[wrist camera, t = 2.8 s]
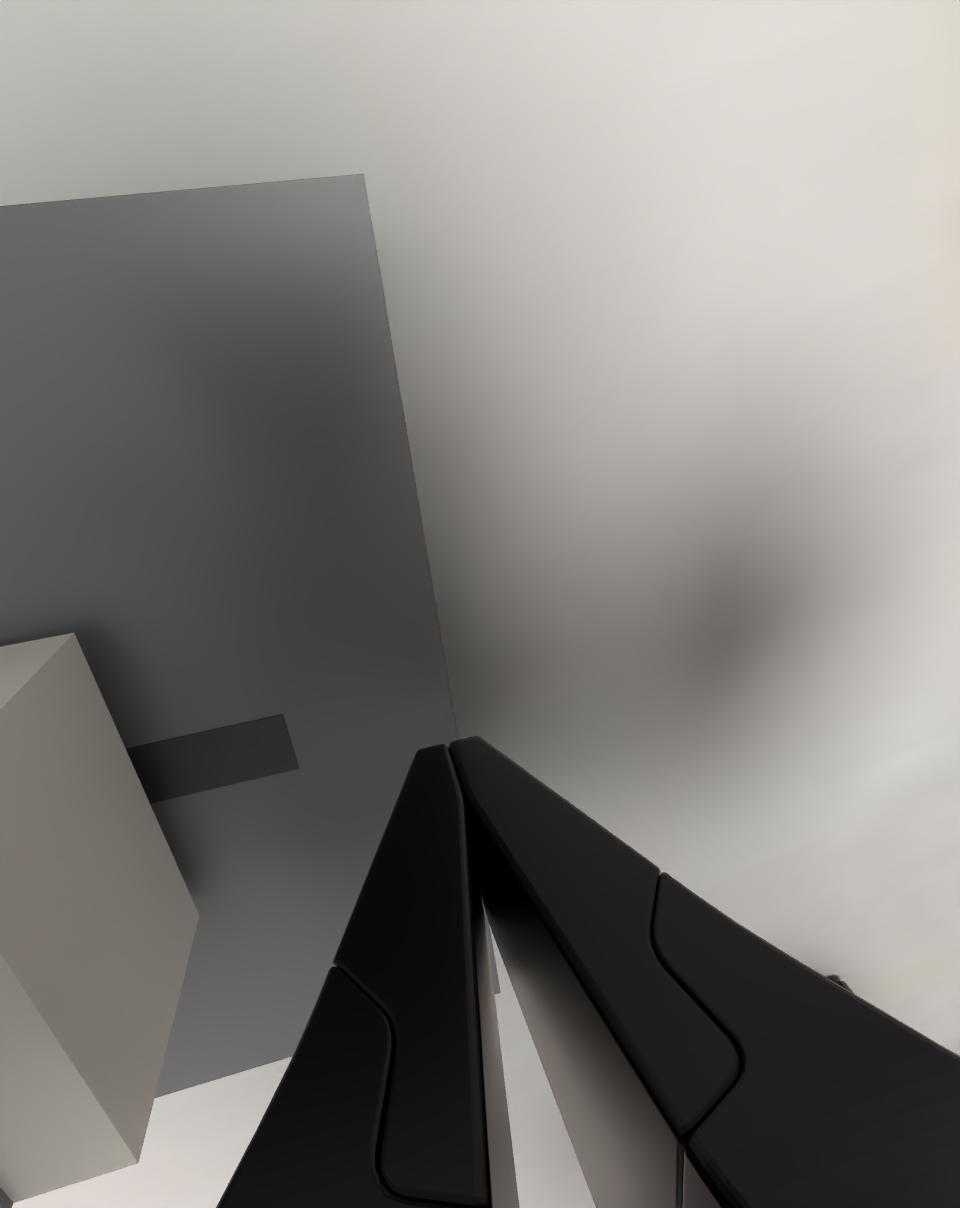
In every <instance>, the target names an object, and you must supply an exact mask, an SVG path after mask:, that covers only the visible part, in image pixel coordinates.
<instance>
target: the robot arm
mask: <svg viewBox="0 0 960 1208" xmlns="http://www.w3.org/2000/svg"><path fill="white" fill-rule="evenodd" d="M482 901H483V903H482ZM483 905H484V909H485V912H486V915H487V918H488V921H489V924H490V927H491V930H492V933H493V935H494V938H495V941H496V943H497V946H498V949H499V951H500V954H501V957H502V959H503V962H504V965H505V967H506V970H507V972H508V975H509V978H510V980H511V983H512V986H513V988H514V991H515V994H516V996H517V999H518V1002H519V1004H520V1007H521V1010H522V1012H523V1015H524V1017H525V1020H526V1023H527V1025H528V1028H529V1031H530V1033H531V1036H532V1039H533V1041H534V1044H535V1047H536V1049H537V1052H538V1055H539V1057H540V1060H541V1063H542V1065H543V1068H544V1070H545V1073H546V1076H547V1078H548V1081H549V1084H550V1086H551V1089H552V1092H553V1094H554V1097H555V1100H556V1102H557V1105H558V1108H559V1110H560V1113H561V1115H562V1118H563V1121H564V1123H565V1126H566V1129H567V1131H568V1134H569V1137H570V1139H571V1142H572V1145H573V1147H574V1150H575V1153H576V1155H577V1158H578V1160H579V1163H580V1166H581V1168H582V1171H583V1174H584V1176H585V1179H586V1182H587V1184H588V1187H589V1190H590V1192H591V1195H592V1198H593V1200H594V1203H595V1206H596V1208H960V1056H959V1055H957V1054H955V1053H954V1052H952V1051H950V1050H948V1049H946V1048H945V1047H943V1046H941V1045H939V1044H938V1043H936V1042H934V1041H933V1040H931V1039H929V1038H927V1037H926V1036H924V1035H922V1034H921V1033H919V1032H917V1031H916V1030H914V1029H912V1028H911V1027H909V1026H907V1025H906V1024H904V1023H902V1022H901V1021H899V1020H897V1019H895V1018H894V1017H892V1016H890V1015H889V1014H887V1013H885V1012H884V1011H882V1010H880V1009H879V1008H877V1007H875V1006H874V1005H872V1004H870V1003H868V1002H867V1001H865V1000H863V999H862V998H860V997H858V996H857V995H855V994H854V993H853V992H852V990H851V989H850V988H849V987H848V985H847V984H846V983H845V982H843V981H837V982H833V981H831V980H830V979H828V978H826V977H825V976H823V975H821V974H820V973H818V972H816V971H815V970H813V969H811V968H809V967H808V966H806V965H804V964H803V963H801V962H799V961H798V960H796V959H794V958H793V957H791V956H789V955H788V954H786V953H785V952H783V951H781V950H780V949H778V948H777V947H775V946H773V945H772V944H770V943H769V942H767V941H765V940H764V939H762V938H760V937H759V936H757V935H756V934H754V933H752V932H751V931H749V930H748V929H746V928H744V927H743V926H741V925H740V924H738V923H736V922H735V921H734V920H732V919H731V918H729V917H728V916H726V915H725V914H723V913H722V912H721V911H719V910H718V909H716V908H715V907H713V906H712V905H710V904H709V903H708V902H706V901H705V900H703V899H702V898H700V897H699V896H697V895H696V894H695V893H693V892H692V891H690V890H689V889H688V888H686V887H685V886H683V885H682V884H681V883H679V882H678V881H677V880H675V879H674V878H672V877H671V876H670V875H668V874H667V873H665V872H663V873H661V871H660V869H659V868H658V867H657V866H656V865H654V864H653V863H652V862H650V861H649V860H647V859H646V858H645V857H643V856H642V855H641V854H639V853H638V852H637V851H635V850H634V849H632V848H631V847H630V846H628V845H627V844H626V843H624V842H623V841H621V840H620V839H619V838H617V837H616V836H615V835H613V834H612V833H611V832H609V831H608V830H606V829H605V828H604V827H602V826H601V825H600V824H598V823H597V822H595V821H594V820H593V819H591V818H590V817H589V816H587V815H586V814H585V813H583V812H582V811H580V810H579V809H578V808H576V807H575V806H574V805H572V804H571V803H570V802H568V801H567V800H565V799H564V798H563V797H561V796H560V795H559V794H557V793H556V792H554V791H553V790H552V789H550V788H549V787H548V786H546V785H545V784H544V783H542V782H541V781H539V780H538V779H537V778H535V777H534V776H533V775H531V774H530V773H529V772H527V771H526V770H524V769H523V768H522V767H520V766H519V765H518V764H516V763H515V762H513V761H512V760H511V759H509V758H508V757H507V756H505V755H504V754H503V753H501V752H500V751H498V750H497V749H496V748H494V747H493V746H492V745H490V744H489V743H488V742H486V741H485V740H483V739H482V738H481V737H478V736H473V737H469V738H464V739H460V740H456V741H452V742H451V743H450V744H449V748H448V746H447V745H446V744H439V745H435V746H430V747H426V748H422V749H419V750H418V751H417V752H416V754H415V756H414V758H413V761H412V763H411V766H410V768H409V771H408V773H407V776H406V778H405V781H404V783H403V786H402V788H401V791H400V793H399V796H398V799H397V801H396V804H395V806H394V809H393V811H392V814H391V816H390V819H389V821H388V824H387V826H386V829H385V831H384V834H383V836H382V839H381V841H380V844H379V846H378V849H377V851H376V854H375V856H374V859H373V861H372V864H371V866H370V869H369V871H368V874H367V876H366V879H365V881H364V884H363V887H362V889H361V892H360V894H359V897H358V899H357V902H356V904H355V907H354V909H353V912H352V914H351V917H350V919H349V922H348V924H347V927H346V929H345V932H344V934H343V937H342V939H341V942H340V944H339V947H338V949H337V952H336V954H335V957H334V959H333V967H331V968H330V969H329V971H328V974H327V976H326V979H325V981H324V984H323V986H322V989H321V991H320V994H319V996H318V999H317V1001H316V1004H315V1006H314V1009H313V1011H312V1013H311V1016H310V1018H309V1020H308V1022H307V1025H306V1027H305V1029H304V1032H303V1034H302V1036H301V1039H300V1041H299V1043H298V1046H297V1048H296V1050H295V1052H294V1055H293V1057H292V1059H291V1062H290V1064H289V1066H288V1068H287V1070H286V1072H285V1074H284V1076H283V1078H282V1080H281V1082H280V1084H279V1086H278V1088H277V1090H276V1092H275V1094H274V1096H273V1098H272V1100H271V1102H270V1104H269V1106H268V1108H267V1110H266V1112H265V1114H264V1116H263V1118H262V1120H261V1122H260V1124H259V1126H258V1128H257V1130H256V1132H255V1134H254V1136H253V1138H252V1140H251V1142H250V1144H249V1146H248V1147H247V1149H246V1151H245V1153H244V1155H243V1157H242V1159H241V1161H240V1163H239V1165H238V1167H237V1169H236V1170H235V1172H234V1174H233V1176H232V1178H231V1180H230V1182H229V1184H228V1186H227V1188H226V1190H225V1192H224V1194H223V1195H222V1197H221V1199H220V1201H219V1203H218V1205H217V1207H216V1208H519V1200H518V1192H517V1183H516V1175H515V1166H514V1158H513V1149H512V1141H511V1132H510V1124H509V1115H508V1107H507V1098H506V1090H505V1081H504V1073H503V1064H502V1056H501V1047H500V1039H499V1030H498V1022H497V1013H496V1004H495V996H494V987H493V979H492V970H491V962H490V953H489V945H488V936H487V929H486V922H485V915H484V909H483Z"/></svg>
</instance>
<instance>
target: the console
mask: <svg viewBox="0 0 960 1208" xmlns="http://www.w3.org/2000/svg"><path fill="white" fill-rule="evenodd" d="M70 633H74V634H75V636H76V638H77V640H78V643H79V645H80V647H81V649H82V652H83V654H84V656H85V658H86V661H87V663H88V665H89V667H90V670H91V672H92V674H93V676H94V679H95V681H96V683H97V685H98V688H99V690H100V692H101V694H102V697H103V699H104V701H105V703H106V706H107V708H108V710H109V713H110V715H111V717H112V719H113V722H114V724H115V726H116V728H117V731H118V733H119V735H120V737H121V740H122V742H123V744H124V746H125V749H126V751H127V753H128V755H129V758H130V760H131V762H132V764H133V767H134V769H135V771H136V773H137V776H138V778H139V780H140V782H141V785H142V787H143V789H144V792H145V794H146V796H147V798H148V801H149V803H150V805H151V807H152V810H153V812H154V814H155V816H156V819H157V821H158V823H159V825H160V828H161V830H162V832H163V834H164V837H165V839H166V841H167V843H168V846H169V848H170V850H171V852H172V855H173V857H174V859H175V861H176V864H177V866H178V868H179V870H180V873H181V875H182V877H183V880H184V882H185V884H186V886H187V889H188V891H189V893H190V895H191V898H192V900H193V902H194V904H195V907H196V909H197V911H198V913H199V920H198V924H197V928H196V932H195V936H194V940H193V944H192V948H191V952H190V956H189V960H188V964H187V968H186V972H185V976H184V980H183V984H182V988H181V992H180V996H179V1000H178V1005H177V1009H176V1013H175V1017H174V1021H173V1025H172V1029H171V1033H170V1037H169V1041H168V1045H167V1049H166V1053H165V1057H164V1061H163V1065H162V1069H161V1073H160V1077H159V1081H158V1085H157V1089H156V1093H155V1097H154V1098H157V1097H160V1096H163V1095H166V1094H170V1093H173V1092H176V1091H180V1090H183V1089H186V1088H189V1087H193V1086H196V1085H199V1084H203V1083H206V1082H209V1081H212V1080H216V1079H219V1078H222V1077H225V1076H229V1075H232V1074H235V1073H239V1072H242V1071H245V1070H248V1069H252V1068H255V1067H258V1066H262V1065H265V1064H268V1063H271V1062H275V1061H278V1060H281V1059H284V1058H288V1057H291V1056H293V1055H294V1052H295V1050H296V1048H297V1046H298V1043H299V1041H300V1039H301V1036H302V1034H303V1032H304V1029H305V1027H306V1025H307V1022H308V1020H309V1018H310V1016H311V1013H312V1011H313V1009H314V1006H315V1004H316V1001H317V999H318V996H319V994H320V991H321V989H322V986H323V984H324V981H325V979H326V976H327V974H328V971H329V969H330V968H331V967H333V959H334V957H335V954H336V952H337V949H338V947H339V944H340V942H341V939H342V937H343V934H344V932H345V929H346V927H347V924H348V922H349V919H350V917H351V914H352V912H353V909H354V907H355V904H356V902H357V899H358V897H359V894H360V892H361V889H362V887H363V884H364V881H365V879H366V876H367V874H368V871H369V869H370V866H371V864H372V861H373V859H374V856H375V854H376V851H377V849H378V846H379V844H380V841H381V839H382V836H383V834H384V831H385V829H386V826H387V824H388V821H389V819H390V816H391V814H392V811H393V809H394V806H395V804H396V801H397V799H398V796H399V793H400V791H401V788H402V786H403V783H404V781H405V778H406V776H407V773H408V771H409V768H410V766H411V763H412V761H413V758H414V756H415V754H416V752H417V751H418V750H419V749H422V748H426V747H430V746H435V745H439V744H446V745H447V746H448V748H449V744H450V743H451V742H452V741H456V740H458V736H457V730H456V724H455V718H454V712H453V706H452V700H451V694H450V688H449V682H448V676H447V670H446V664H445V658H444V652H443V646H442V640H441V634H440V628H439V622H438V616H437V610H436V604H435V598H434V592H433V586H432V580H431V574H430V568H429V562H428V556H427V551H426V545H425V539H424V533H423V527H422V521H421V515H420V509H419V503H418V497H417V491H416V485H415V479H414V473H413V467H412V461H411V455H410V449H409V443H408V437H407V431H406V425H405V419H404V413H403V407H402V401H401V395H400V389H399V383H398V377H397V371H396V365H395V359H394V353H393V347H392V341H391V335H390V329H389V323H388V317H387V311H386V305H385V299H384V293H383V287H382V281H381V275H380V269H379V264H378V258H377V252H376V246H375V240H374V234H373V228H372V222H371V216H370V210H369V204H368V198H367V192H366V186H365V180H364V174H357V175H346V176H335V177H323V178H312V179H301V180H289V181H278V182H267V183H256V184H244V185H233V186H222V187H211V188H199V189H188V190H177V191H166V192H154V193H143V194H132V195H121V196H109V197H98V198H87V199H76V200H64V201H53V202H42V203H31V204H19V205H8V206H0V647H2V646H7V645H12V644H17V643H23V642H28V641H33V640H38V639H44V638H49V637H54V636H59V635H65V634H70ZM482 903H483V901H482ZM483 909H484V905H483ZM484 915H485V922H486V929H487V936H488V945H489V953H490V962H491V970H492V979H493V987H494V994H498V993H500V987H499V981H498V975H497V969H496V963H495V957H494V951H493V945H492V939H491V933H490V927H489V921H488V918H487V915H486V912H485V909H484Z"/></svg>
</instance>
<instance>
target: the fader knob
mask: <svg viewBox="0 0 960 1208" xmlns="http://www.w3.org/2000/svg"><path fill="white" fill-rule="evenodd" d="M198 920H199V913H198V911H197V909H196V907H195V904H194V902H193V900H192V898H191V895H190V893H189V891H188V889H187V886H186V884H185V882H184V880H183V877H182V875H181V873H180V870H179V868H178V866H177V864H176V861H175V859H174V857H173V855H172V852H171V850H170V848H169V846H168V843H167V841H166V839H165V837H164V834H163V832H162V830H161V828H160V825H159V823H158V821H157V819H156V816H155V814H154V812H153V810H152V807H151V805H150V803H149V801H148V798H147V796H146V794H145V792H144V789H143V787H142V785H141V782H140V780H139V778H138V776H137V773H136V771H135V769H134V767H133V764H132V762H131V760H130V758H129V755H128V753H127V751H126V749H125V746H124V744H123V742H122V740H121V737H120V735H119V733H118V731H117V728H116V726H115V724H114V722H113V719H112V717H111V715H110V713H109V710H108V708H107V706H106V703H105V701H104V699H103V697H102V694H101V692H100V690H99V688H98V685H97V683H96V681H95V679H94V676H93V674H92V672H91V670H90V667H89V665H88V663H87V661H86V658H85V656H84V654H83V652H82V649H81V647H80V645H79V643H78V640H77V638H76V636H75V634H74V633H70V634H65V635H59V636H54V637H49V638H44V639H38V640H33V641H28V642H23V643H17V644H12V645H7V646H2V647H0V1208H12V1205H13V1203H14V1202H18V1201H21V1200H24V1199H27V1198H30V1197H33V1196H36V1195H40V1194H43V1193H46V1192H49V1191H52V1190H55V1189H58V1188H61V1187H65V1186H68V1185H71V1184H74V1183H77V1182H80V1181H83V1180H87V1179H90V1178H93V1177H96V1176H99V1175H102V1174H105V1173H108V1172H112V1171H115V1170H118V1169H121V1168H124V1167H127V1166H130V1165H134V1164H137V1163H138V1162H139V1158H140V1154H141V1150H142V1146H143V1142H144V1138H145V1134H146V1130H147V1126H148V1122H149V1118H150V1113H151V1109H152V1105H153V1101H154V1097H155V1093H156V1089H157V1085H158V1081H159V1077H160V1073H161V1069H162V1065H163V1061H164V1057H165V1053H166V1049H167V1045H168V1041H169V1037H170V1033H171V1029H172V1025H173V1021H174V1017H175V1013H176V1009H177V1005H178V1000H179V996H180V992H181V988H182V984H183V980H184V976H185V972H186V968H187V964H188V960H189V956H190V952H191V948H192V944H193V940H194V936H195V932H196V928H197V924H198Z"/></svg>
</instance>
